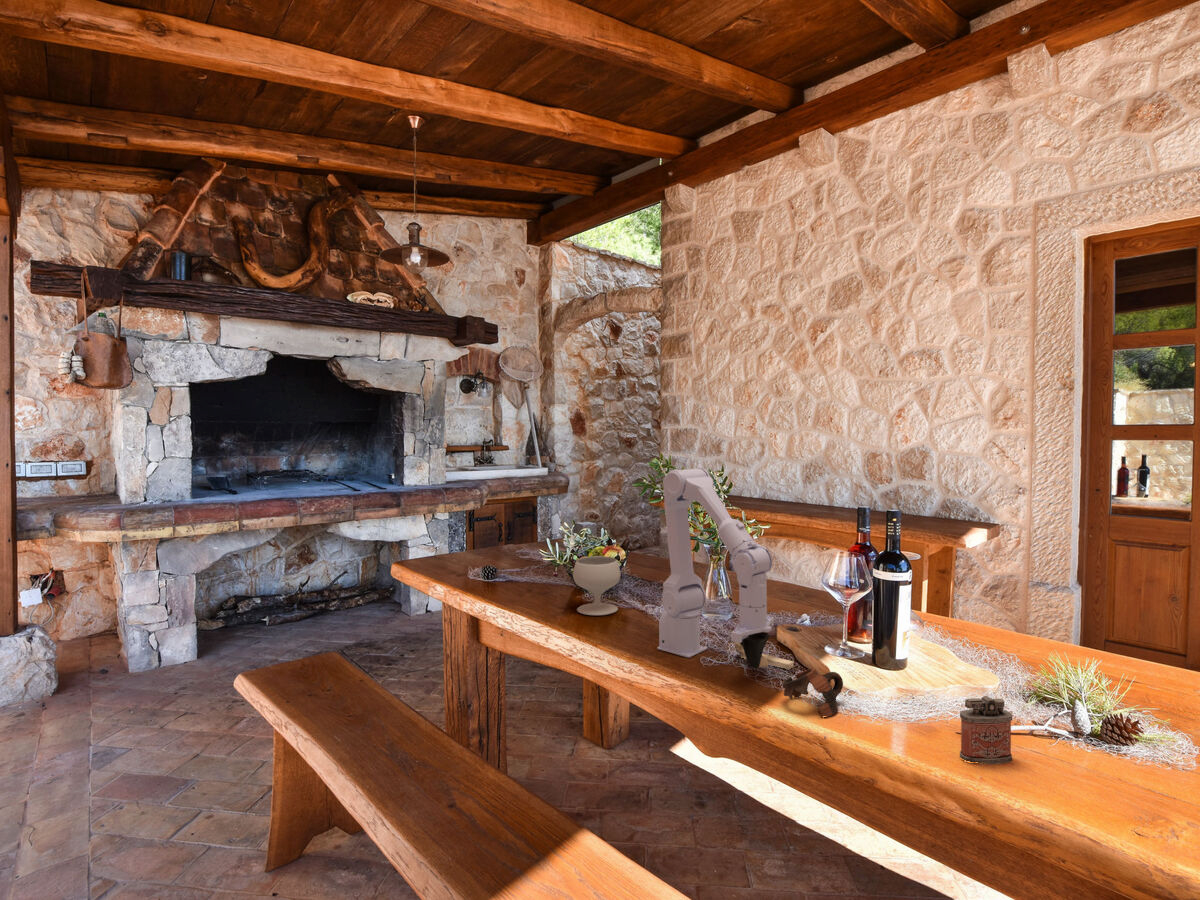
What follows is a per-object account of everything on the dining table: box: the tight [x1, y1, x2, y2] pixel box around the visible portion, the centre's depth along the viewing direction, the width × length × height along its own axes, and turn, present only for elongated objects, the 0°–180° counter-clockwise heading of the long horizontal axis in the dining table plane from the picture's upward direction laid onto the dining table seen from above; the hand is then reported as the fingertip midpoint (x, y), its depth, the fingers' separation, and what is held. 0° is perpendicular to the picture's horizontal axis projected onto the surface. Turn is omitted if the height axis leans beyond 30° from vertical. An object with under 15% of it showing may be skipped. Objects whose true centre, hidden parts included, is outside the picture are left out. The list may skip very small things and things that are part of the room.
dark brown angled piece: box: [781, 667, 844, 717], centre depth 126 cm, size 12×9×8 cm
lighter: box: [959, 695, 1013, 765], centre depth 105 cm, size 8×3×10 cm, turn 92°
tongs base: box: [735, 643, 795, 671], centre depth 148 cm, size 14×3×5 cm, turn 47°
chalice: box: [572, 555, 621, 616], centre depth 191 cm, size 14×14×15 cm
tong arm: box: [734, 642, 769, 668], centre depth 146 cm, size 12×4×1 cm, turn 7°
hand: (753, 666), depth 139 cm, fingers closed, pressing on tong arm
